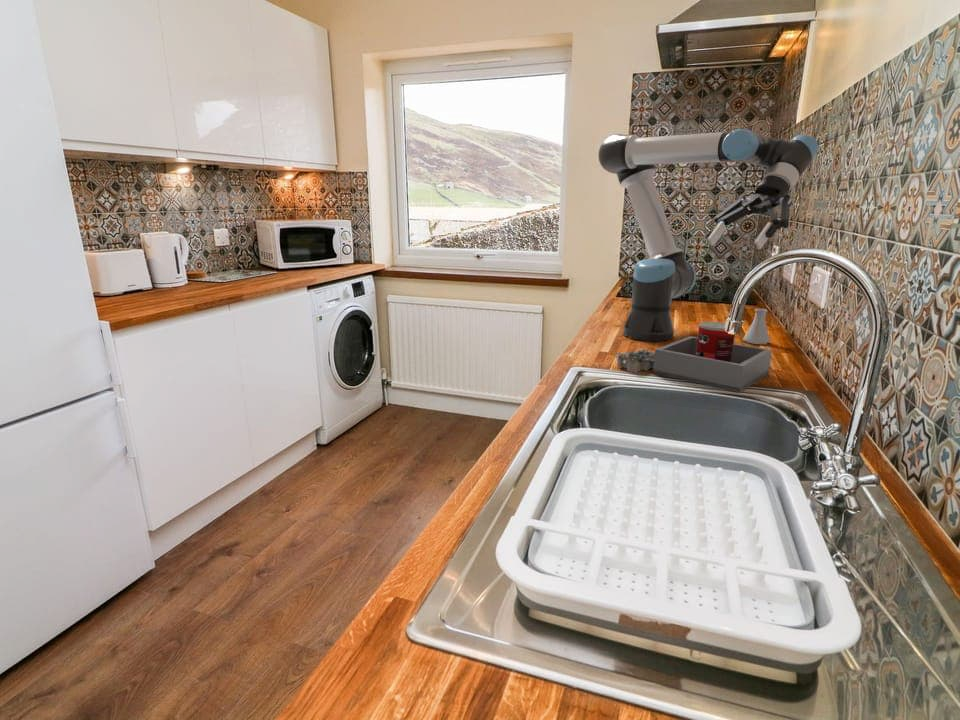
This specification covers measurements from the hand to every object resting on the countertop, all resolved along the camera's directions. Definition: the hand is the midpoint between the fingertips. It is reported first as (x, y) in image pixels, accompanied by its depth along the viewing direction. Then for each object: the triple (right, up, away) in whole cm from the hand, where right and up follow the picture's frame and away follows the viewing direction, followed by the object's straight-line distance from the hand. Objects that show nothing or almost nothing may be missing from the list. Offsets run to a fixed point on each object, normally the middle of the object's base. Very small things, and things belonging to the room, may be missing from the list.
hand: (732, 244), depth 140 cm
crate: (-10, -33, -10) cm, 36 cm away
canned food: (-10, -33, -10) cm, 35 cm away
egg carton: (-26, -32, -4) cm, 41 cm away
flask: (+18, -25, +23) cm, 38 cm away
